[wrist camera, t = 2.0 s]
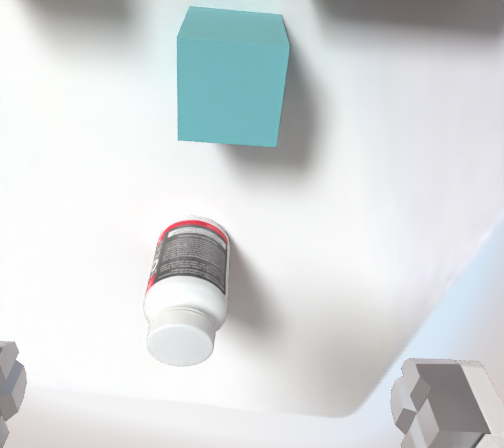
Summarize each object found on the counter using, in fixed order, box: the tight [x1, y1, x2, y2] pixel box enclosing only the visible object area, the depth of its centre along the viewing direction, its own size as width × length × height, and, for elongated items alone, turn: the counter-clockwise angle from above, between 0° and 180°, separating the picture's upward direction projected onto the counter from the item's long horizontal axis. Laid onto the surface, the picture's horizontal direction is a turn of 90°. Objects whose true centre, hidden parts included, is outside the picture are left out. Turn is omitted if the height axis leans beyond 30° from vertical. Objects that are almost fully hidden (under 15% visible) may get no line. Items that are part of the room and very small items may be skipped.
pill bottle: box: [143, 215, 230, 366], centre depth 31 cm, size 5×5×10 cm
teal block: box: [177, 6, 290, 147], centre depth 24 cm, size 5×5×6 cm
